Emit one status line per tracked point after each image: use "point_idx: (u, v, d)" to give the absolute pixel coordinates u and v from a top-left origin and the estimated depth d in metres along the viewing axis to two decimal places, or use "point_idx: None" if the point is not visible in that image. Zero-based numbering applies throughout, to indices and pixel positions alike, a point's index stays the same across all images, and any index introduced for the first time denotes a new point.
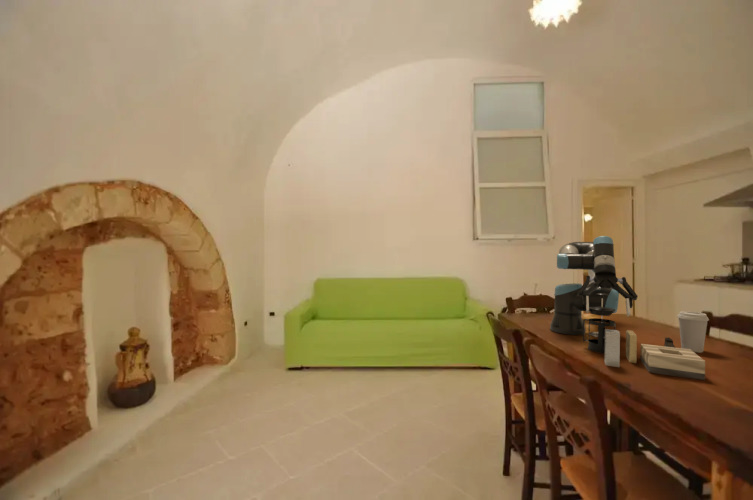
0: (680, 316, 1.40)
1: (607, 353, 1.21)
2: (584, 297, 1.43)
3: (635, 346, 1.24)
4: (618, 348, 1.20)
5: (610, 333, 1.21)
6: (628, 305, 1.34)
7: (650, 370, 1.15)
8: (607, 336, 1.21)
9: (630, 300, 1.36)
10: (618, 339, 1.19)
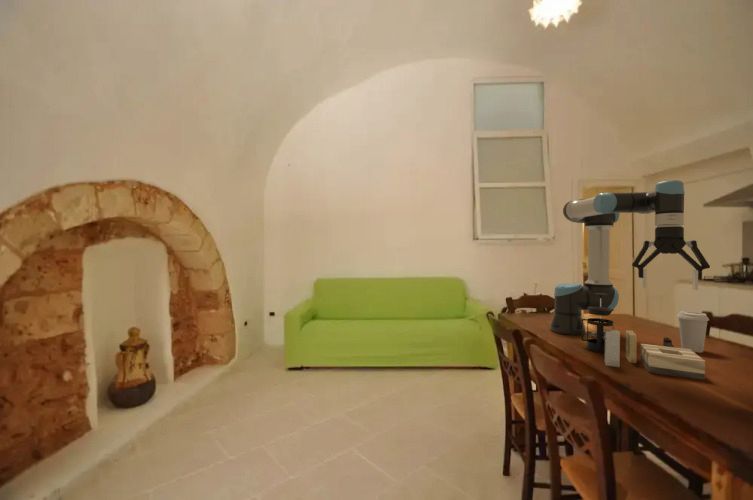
0: (680, 316, 1.40)
1: (607, 353, 1.21)
2: (640, 270, 1.21)
3: (635, 346, 1.24)
4: (618, 348, 1.20)
5: (610, 333, 1.21)
6: (696, 280, 1.13)
7: (650, 370, 1.15)
8: (607, 336, 1.21)
9: (699, 272, 1.13)
10: (618, 339, 1.19)
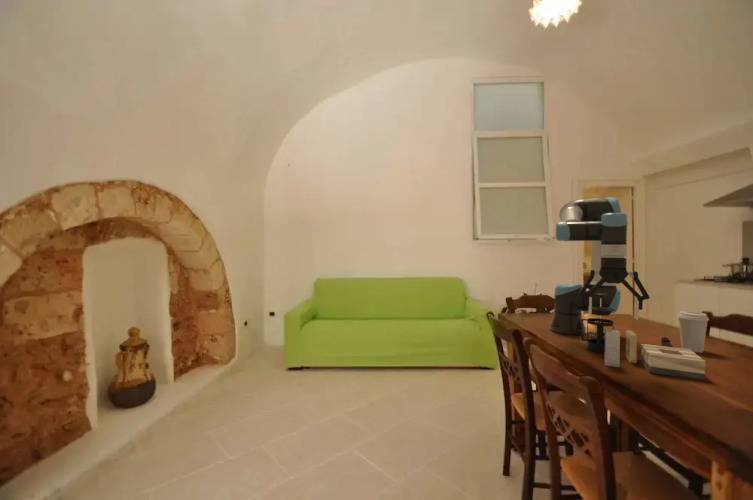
0: (680, 316, 1.40)
1: (607, 353, 1.21)
2: (587, 298, 1.25)
3: (635, 346, 1.24)
4: (618, 348, 1.20)
5: (610, 333, 1.21)
6: (637, 309, 1.17)
7: (650, 370, 1.15)
8: (607, 336, 1.21)
9: (640, 302, 1.17)
10: (618, 339, 1.19)
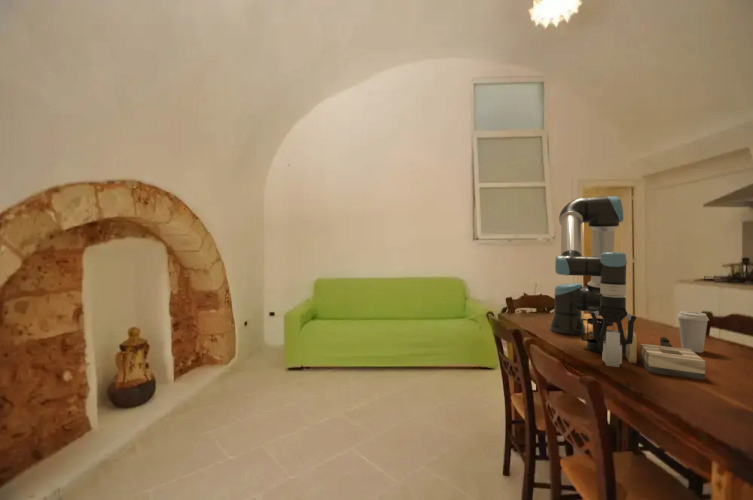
0: (680, 316, 1.40)
1: (607, 353, 1.21)
2: (600, 343, 1.23)
3: (635, 346, 1.24)
4: (618, 348, 1.20)
5: (610, 333, 1.21)
6: (620, 354, 1.20)
7: (650, 370, 1.15)
8: (607, 336, 1.21)
9: (623, 346, 1.20)
10: (618, 339, 1.19)
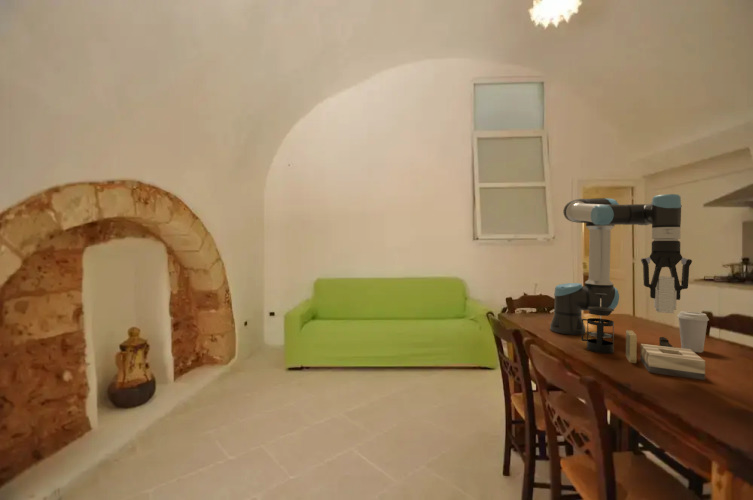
0: (680, 316, 1.40)
1: (660, 299, 1.17)
2: (652, 290, 1.19)
3: (635, 346, 1.24)
4: (672, 293, 1.15)
5: (663, 278, 1.16)
6: (674, 299, 1.15)
7: (650, 370, 1.15)
8: (660, 282, 1.16)
9: (678, 292, 1.15)
10: (672, 284, 1.15)
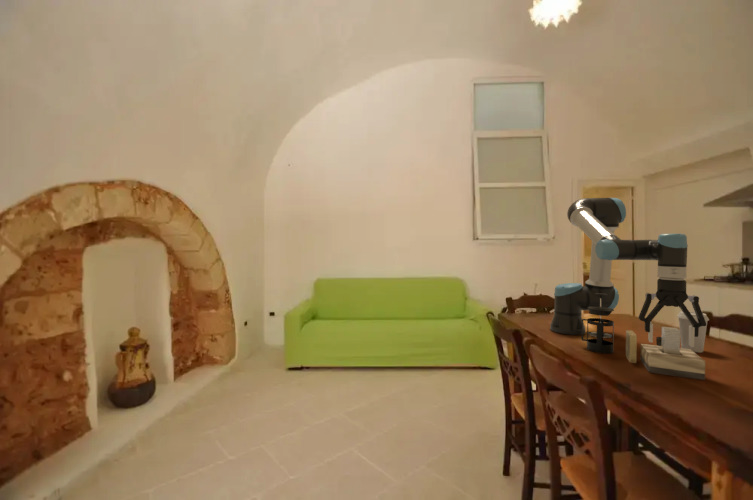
0: (680, 316, 1.40)
1: (666, 351, 1.17)
2: (647, 324, 1.20)
3: (635, 346, 1.24)
4: (678, 346, 1.15)
5: (669, 331, 1.16)
6: (693, 336, 1.14)
7: (650, 370, 1.15)
8: (666, 334, 1.16)
9: (696, 328, 1.14)
10: (678, 337, 1.15)
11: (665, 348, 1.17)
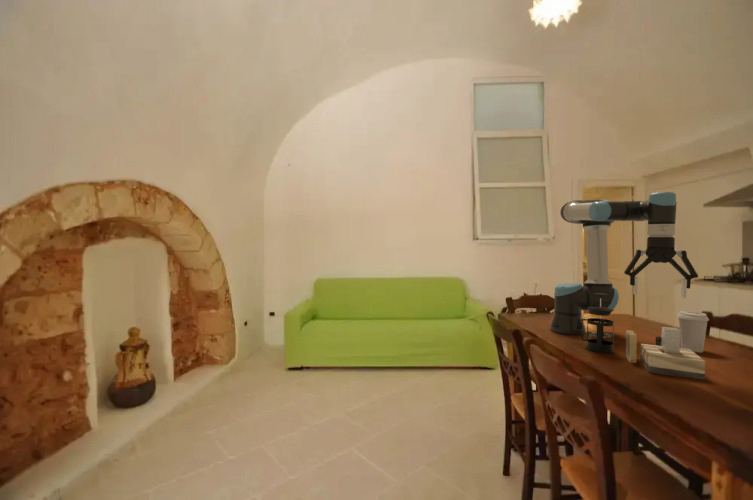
0: (680, 316, 1.40)
1: (666, 351, 1.17)
2: (632, 278, 1.25)
3: (635, 346, 1.24)
4: (678, 346, 1.15)
5: (669, 331, 1.16)
6: (685, 288, 1.18)
7: (650, 370, 1.15)
8: (666, 334, 1.16)
9: (688, 280, 1.18)
10: (678, 337, 1.15)
11: (665, 348, 1.17)
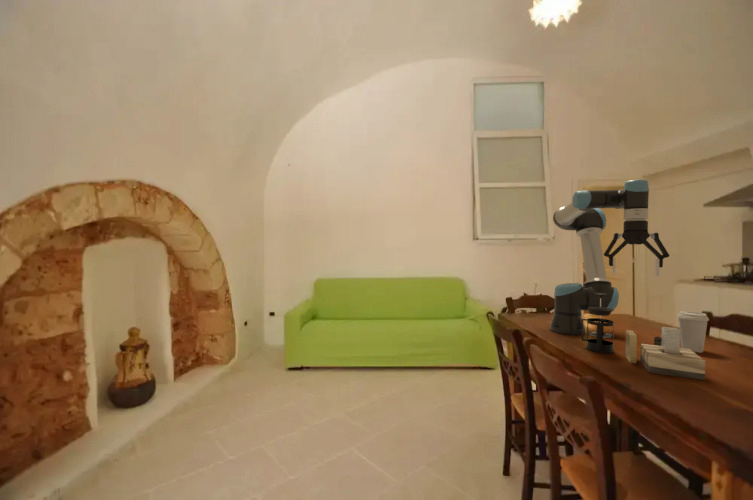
0: (680, 316, 1.40)
1: (666, 351, 1.17)
2: (610, 259, 1.36)
3: (635, 346, 1.24)
4: (678, 346, 1.15)
5: (669, 331, 1.16)
6: (658, 267, 1.29)
7: (650, 370, 1.15)
8: (666, 334, 1.16)
9: (660, 260, 1.29)
10: (678, 337, 1.15)
11: (665, 348, 1.17)
